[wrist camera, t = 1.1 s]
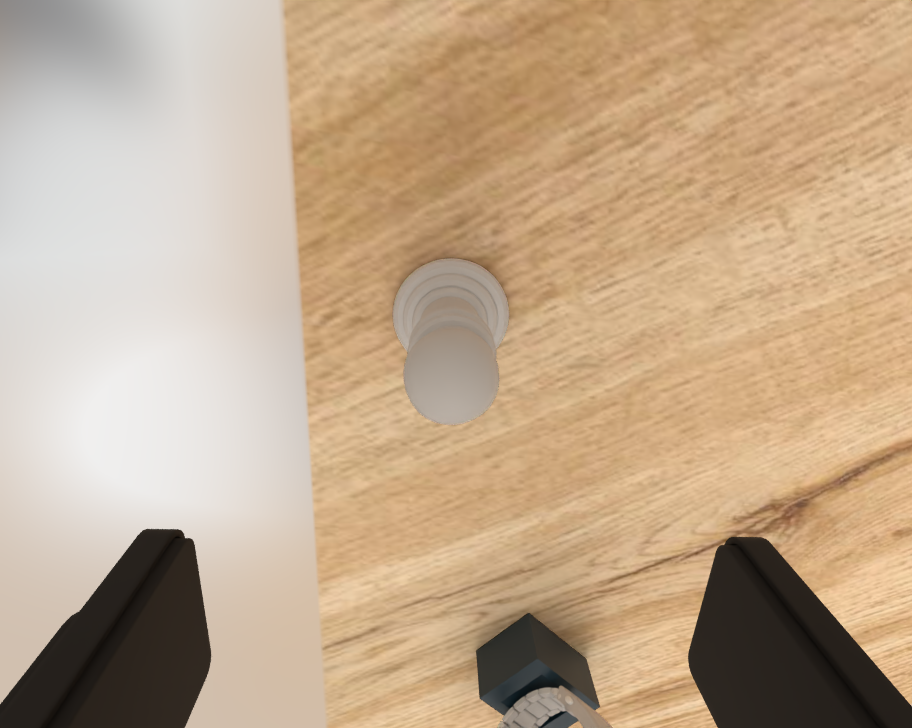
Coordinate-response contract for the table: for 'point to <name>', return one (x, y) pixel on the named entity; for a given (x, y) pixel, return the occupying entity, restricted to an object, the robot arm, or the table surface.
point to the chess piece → (451, 338)
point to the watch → (536, 679)
